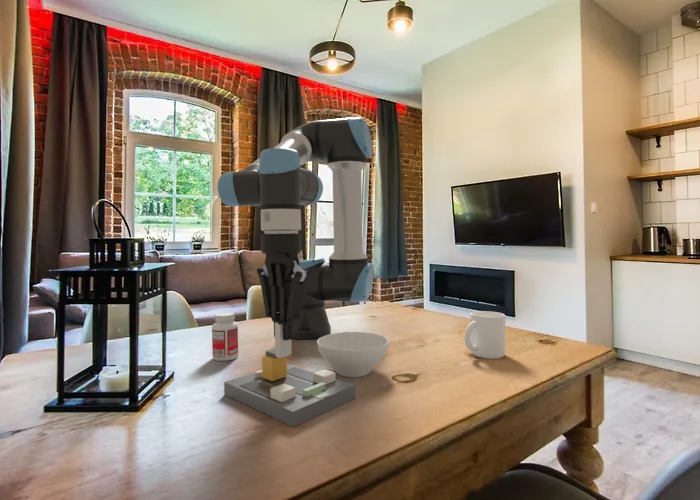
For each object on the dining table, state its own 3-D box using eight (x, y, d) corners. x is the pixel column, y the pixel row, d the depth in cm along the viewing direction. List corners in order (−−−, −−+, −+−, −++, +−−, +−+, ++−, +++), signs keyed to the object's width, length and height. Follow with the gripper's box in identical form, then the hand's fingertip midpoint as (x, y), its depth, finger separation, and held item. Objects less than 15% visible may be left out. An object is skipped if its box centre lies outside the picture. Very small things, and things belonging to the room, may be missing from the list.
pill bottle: (237, 353, 104) (236, 311, 104) (239, 360, 98) (238, 315, 98) (212, 355, 102) (211, 312, 101) (212, 362, 96) (211, 317, 96)
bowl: (366, 390, 78) (366, 354, 78) (302, 375, 87) (302, 343, 86) (400, 367, 92) (400, 337, 91) (342, 356, 100) (342, 329, 100)
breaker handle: (262, 377, 78) (262, 352, 77) (277, 372, 80) (276, 348, 80) (272, 381, 76) (271, 355, 75) (287, 376, 78) (286, 350, 78)
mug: (478, 363, 94) (478, 320, 94) (452, 355, 101) (452, 314, 101) (512, 356, 100) (512, 315, 99) (486, 348, 107) (486, 309, 107)
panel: (224, 394, 76) (224, 373, 76) (285, 374, 88) (285, 355, 87) (293, 427, 63) (292, 401, 63) (354, 398, 74) (354, 375, 74)
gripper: (244, 233, 77) (247, 353, 78) (288, 232, 68) (290, 368, 70) (275, 232, 83) (277, 345, 84) (319, 232, 74) (321, 357, 75)
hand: (283, 355), depth 77 cm, fingers closed
